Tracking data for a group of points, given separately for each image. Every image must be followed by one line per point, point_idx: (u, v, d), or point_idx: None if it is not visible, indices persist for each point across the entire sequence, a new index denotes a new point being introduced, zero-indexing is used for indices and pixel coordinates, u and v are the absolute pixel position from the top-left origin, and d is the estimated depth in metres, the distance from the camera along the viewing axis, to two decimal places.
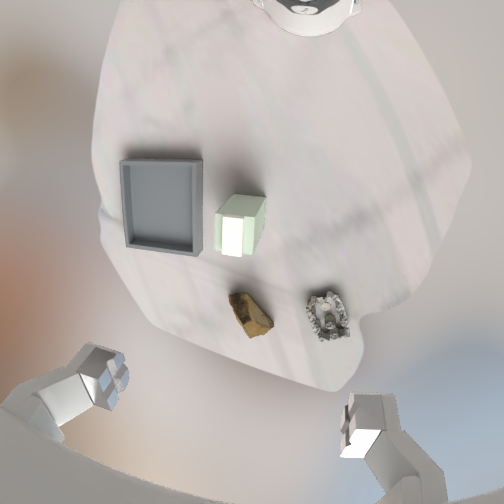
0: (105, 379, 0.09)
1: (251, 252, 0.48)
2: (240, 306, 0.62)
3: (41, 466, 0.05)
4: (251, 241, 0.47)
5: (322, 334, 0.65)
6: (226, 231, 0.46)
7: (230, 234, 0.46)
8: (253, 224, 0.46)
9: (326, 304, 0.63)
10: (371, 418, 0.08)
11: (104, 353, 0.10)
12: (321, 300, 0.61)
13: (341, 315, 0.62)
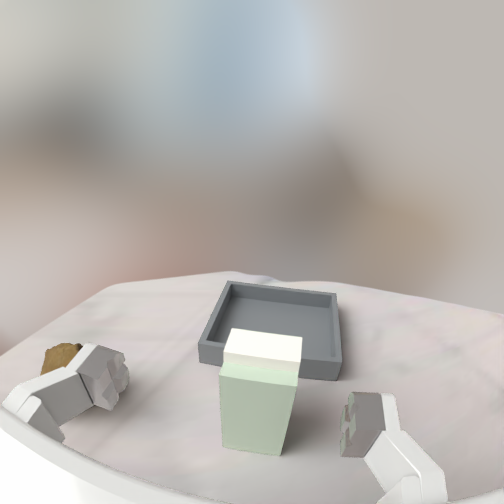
0: (105, 379, 0.09)
1: (224, 374, 0.23)
2: None
3: (41, 466, 0.05)
4: (248, 377, 0.23)
5: None
6: (275, 339, 0.25)
7: (269, 343, 0.25)
8: (282, 383, 0.22)
9: None
10: (371, 418, 0.08)
11: (104, 353, 0.10)
12: None
13: None
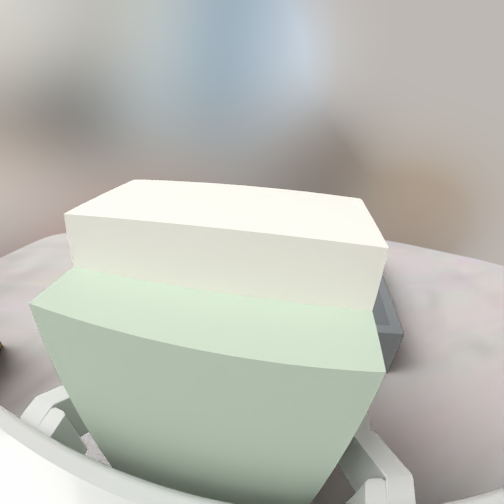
0: None
1: (47, 301, 0.05)
2: None
3: (41, 466, 0.05)
4: (131, 322, 0.05)
5: None
6: (269, 194, 0.07)
7: (246, 199, 0.07)
8: (307, 358, 0.04)
9: None
10: None
11: None
12: None
13: None
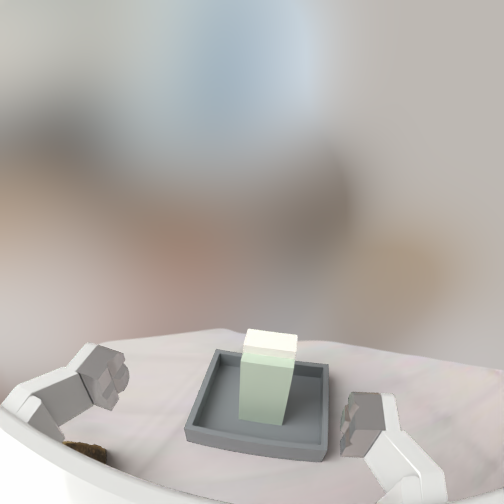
0: (105, 379, 0.09)
1: (244, 360, 0.34)
2: (89, 456, 0.27)
3: (41, 466, 0.05)
4: (260, 362, 0.34)
5: None
6: (278, 336, 0.36)
7: (274, 339, 0.36)
8: (284, 366, 0.33)
9: None
10: (371, 418, 0.08)
11: (104, 353, 0.10)
12: None
13: None
